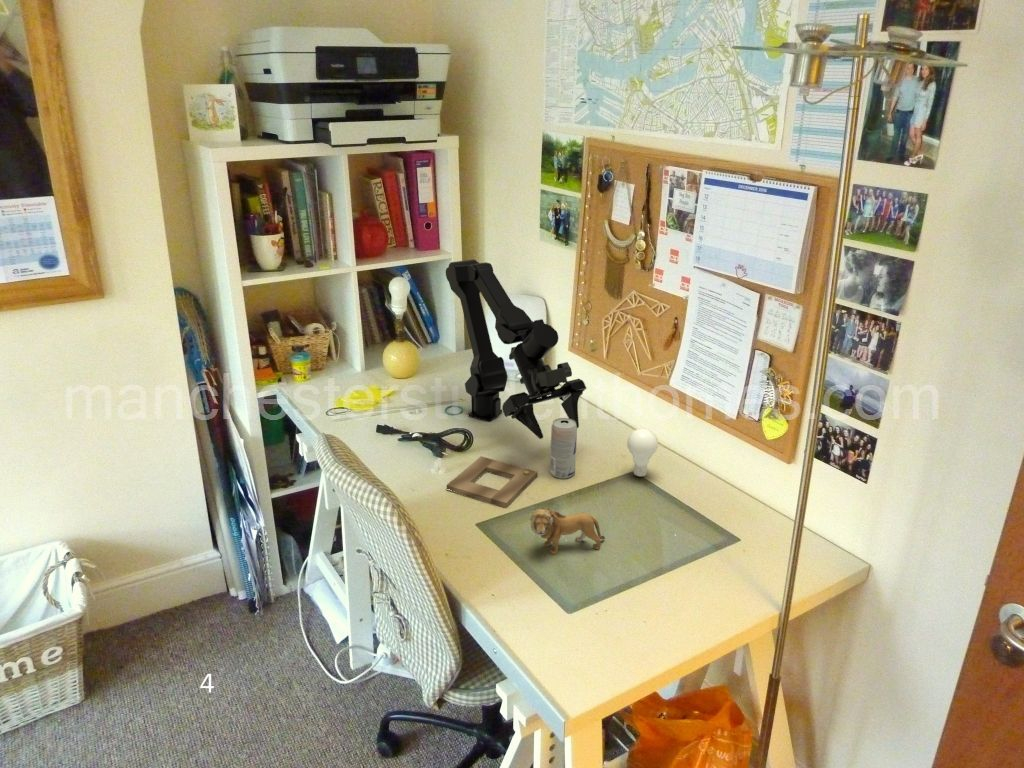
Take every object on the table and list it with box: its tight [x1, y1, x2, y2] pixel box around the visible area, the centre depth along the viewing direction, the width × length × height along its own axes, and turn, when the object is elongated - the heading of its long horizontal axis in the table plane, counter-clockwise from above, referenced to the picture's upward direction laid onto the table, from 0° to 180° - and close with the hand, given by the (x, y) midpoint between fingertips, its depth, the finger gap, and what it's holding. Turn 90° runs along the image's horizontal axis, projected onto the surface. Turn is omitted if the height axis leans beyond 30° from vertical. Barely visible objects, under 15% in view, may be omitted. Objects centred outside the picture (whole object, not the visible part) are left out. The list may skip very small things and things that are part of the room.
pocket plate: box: [446, 456, 539, 509], centre depth 158 cm, size 14×14×2 cm
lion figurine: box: [529, 508, 606, 555], centre depth 137 cm, size 15×5×9 cm, turn 109°
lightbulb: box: [627, 427, 659, 478], centre depth 160 cm, size 6×6×11 cm
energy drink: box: [549, 417, 578, 480], centre depth 160 cm, size 5×5×12 cm
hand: (559, 433), depth 160 cm, fingers open, 9 cm apart
